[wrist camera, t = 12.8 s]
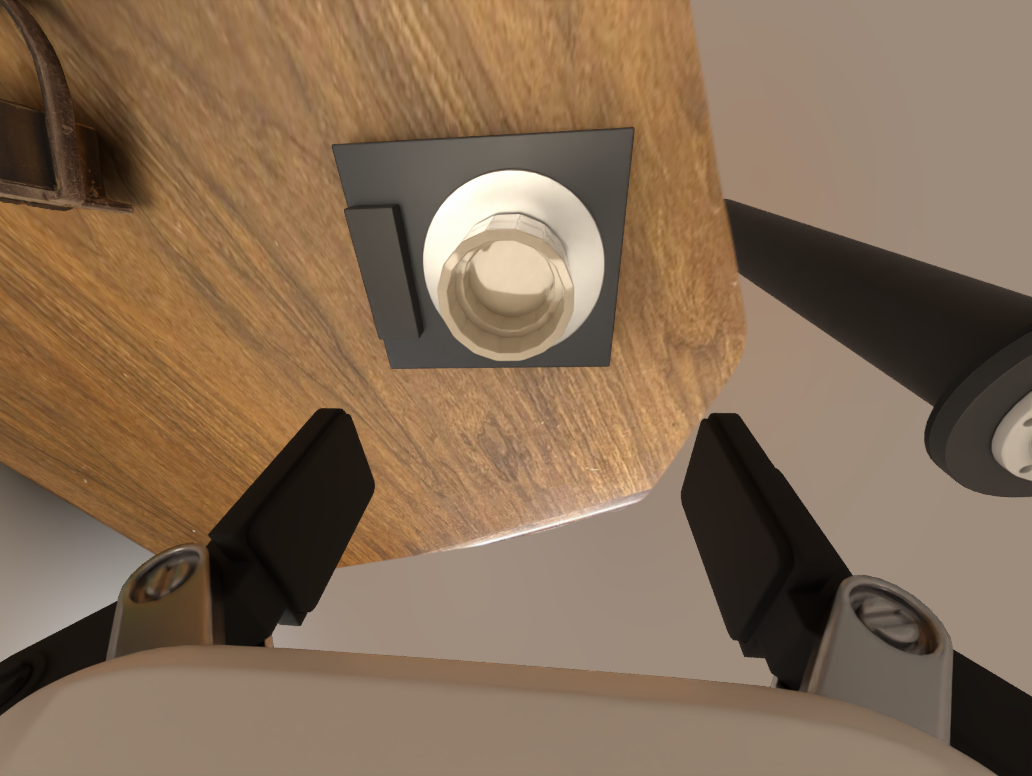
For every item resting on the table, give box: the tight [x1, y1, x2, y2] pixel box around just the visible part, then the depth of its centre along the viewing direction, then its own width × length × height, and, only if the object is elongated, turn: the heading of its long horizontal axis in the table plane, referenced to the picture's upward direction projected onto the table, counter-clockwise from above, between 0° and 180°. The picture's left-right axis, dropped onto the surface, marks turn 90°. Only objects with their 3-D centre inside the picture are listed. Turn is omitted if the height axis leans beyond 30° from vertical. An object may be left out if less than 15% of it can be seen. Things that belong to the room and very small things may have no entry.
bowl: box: [437, 214, 574, 361], centre depth 21 cm, size 7×7×5 cm
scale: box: [332, 127, 635, 369], centre depth 24 cm, size 16×14×4 cm
